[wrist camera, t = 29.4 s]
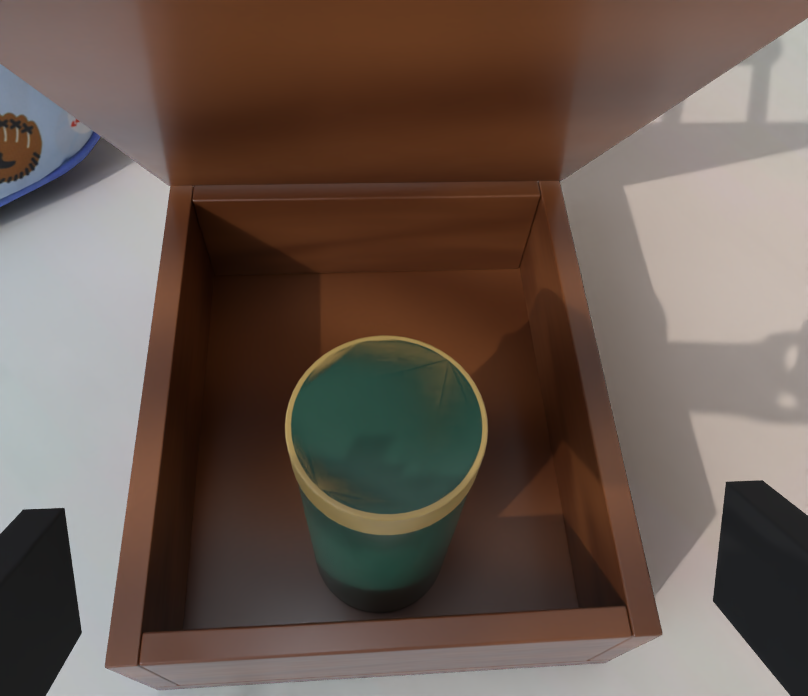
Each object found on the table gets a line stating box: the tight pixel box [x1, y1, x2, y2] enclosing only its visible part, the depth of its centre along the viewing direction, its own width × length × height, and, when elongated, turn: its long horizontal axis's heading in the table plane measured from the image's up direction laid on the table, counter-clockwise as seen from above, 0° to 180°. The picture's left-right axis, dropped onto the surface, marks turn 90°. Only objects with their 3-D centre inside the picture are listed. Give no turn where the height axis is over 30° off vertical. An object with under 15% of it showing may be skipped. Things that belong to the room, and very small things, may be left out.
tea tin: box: [285, 335, 488, 613], centre depth 22 cm, size 5×5×11 cm
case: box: [105, 181, 662, 690], centre depth 27 cm, size 18×16×6 cm
